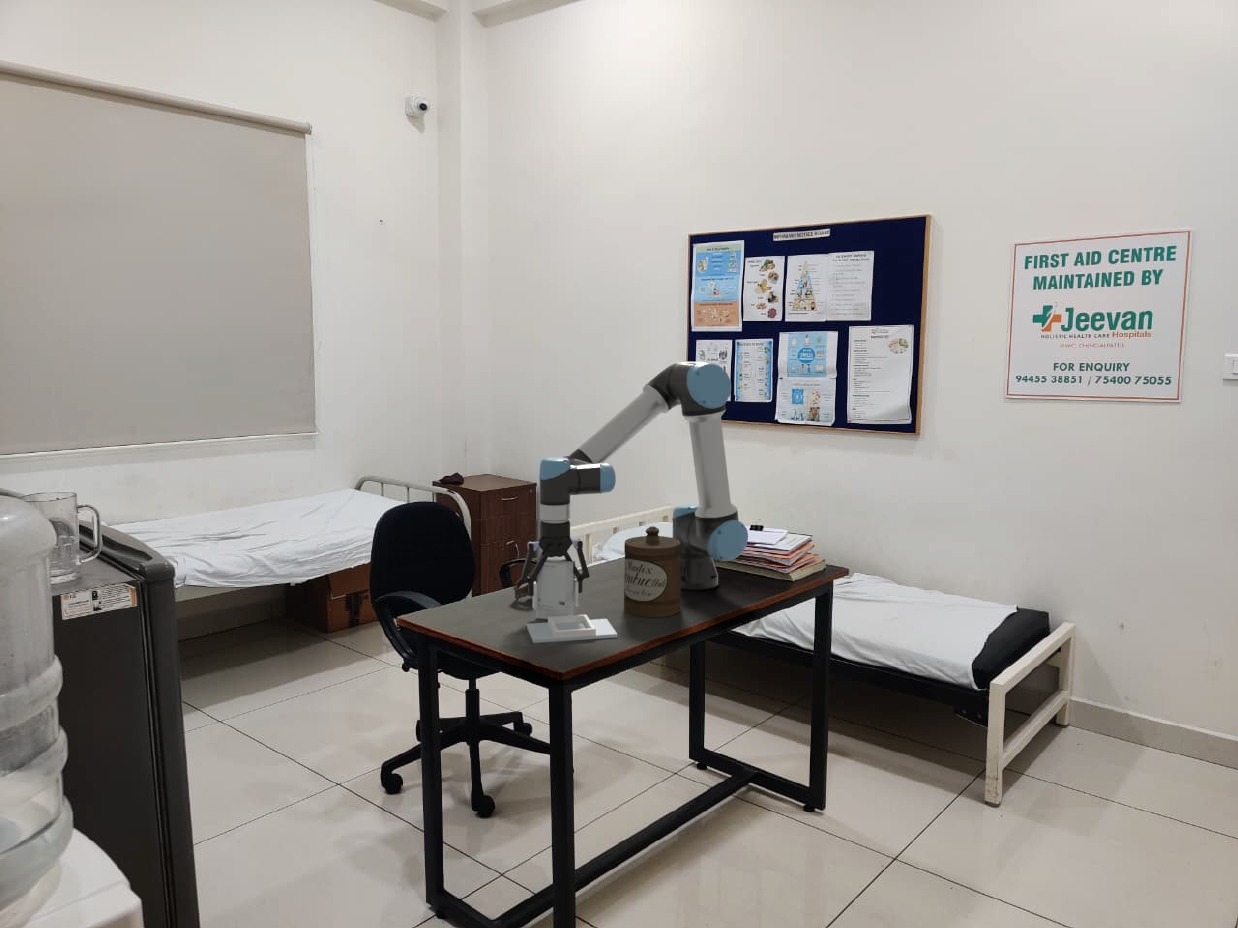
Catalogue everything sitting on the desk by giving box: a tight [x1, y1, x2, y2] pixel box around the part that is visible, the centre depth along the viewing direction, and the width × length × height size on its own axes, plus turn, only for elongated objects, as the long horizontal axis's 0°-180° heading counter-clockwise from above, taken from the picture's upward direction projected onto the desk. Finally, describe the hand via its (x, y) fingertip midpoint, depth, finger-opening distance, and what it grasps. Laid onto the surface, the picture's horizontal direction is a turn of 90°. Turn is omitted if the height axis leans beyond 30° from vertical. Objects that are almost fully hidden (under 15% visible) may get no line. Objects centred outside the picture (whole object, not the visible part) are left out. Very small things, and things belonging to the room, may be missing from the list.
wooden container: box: [623, 525, 682, 618], centre depth 231 cm, size 15×15×22 cm
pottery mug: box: [513, 573, 537, 601], centre depth 240 cm, size 12×10×8 cm
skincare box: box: [535, 557, 576, 620], centre depth 224 cm, size 8×6×15 cm
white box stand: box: [526, 614, 618, 644], centre depth 213 cm, size 20×12×2 cm, turn 103°
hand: (555, 606), depth 224 cm, fingers closed on skincare box, 10 cm apart
